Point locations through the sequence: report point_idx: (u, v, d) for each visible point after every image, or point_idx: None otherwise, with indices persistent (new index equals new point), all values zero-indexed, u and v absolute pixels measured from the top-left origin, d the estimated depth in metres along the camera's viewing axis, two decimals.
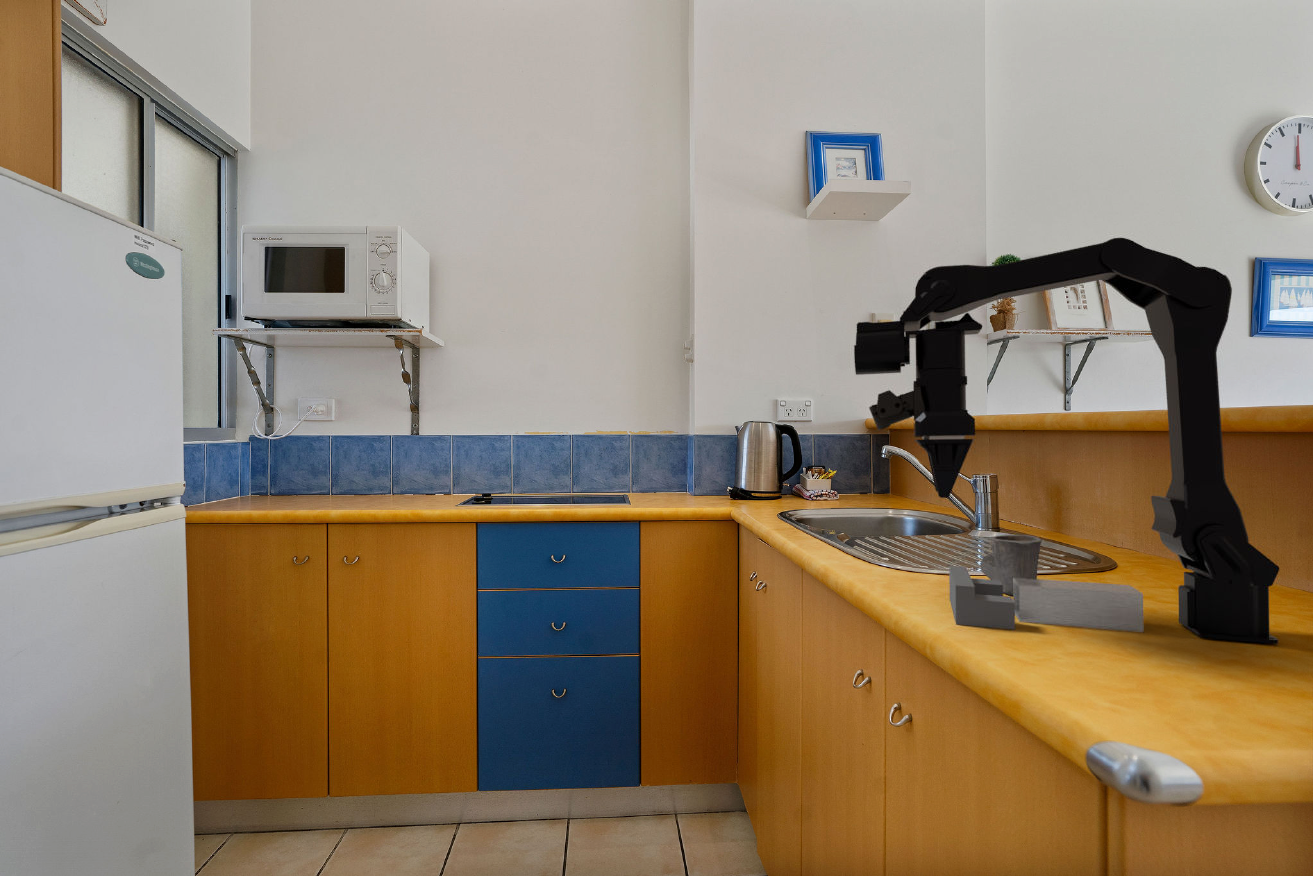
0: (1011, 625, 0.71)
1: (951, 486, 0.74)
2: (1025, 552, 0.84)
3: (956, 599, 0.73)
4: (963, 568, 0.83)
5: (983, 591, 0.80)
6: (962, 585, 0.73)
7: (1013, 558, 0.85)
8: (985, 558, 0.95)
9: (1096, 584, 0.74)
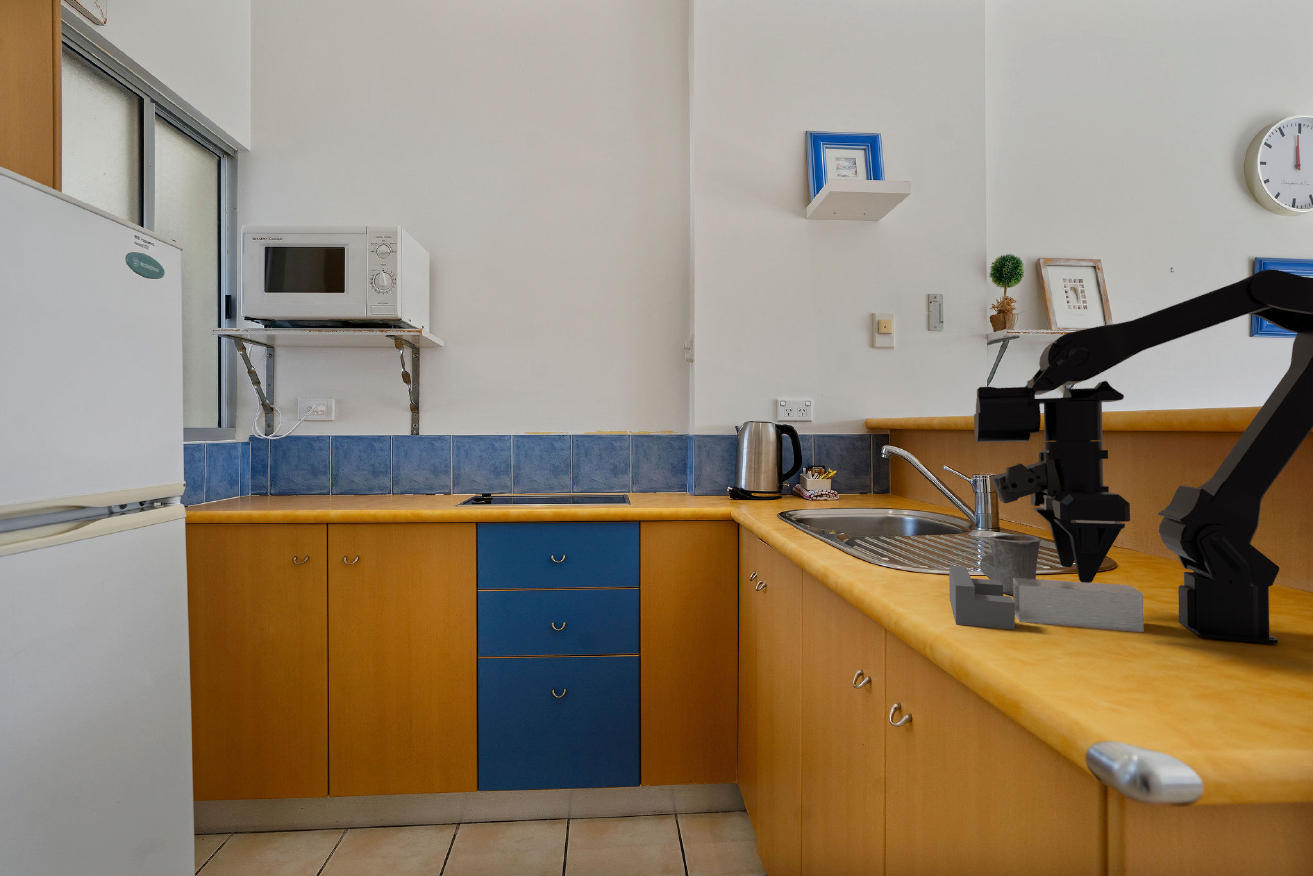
0: (1011, 625, 0.71)
1: (1095, 571, 0.69)
2: (1024, 551, 0.84)
3: (956, 599, 0.73)
4: (963, 568, 0.83)
5: (983, 591, 0.80)
6: (962, 585, 0.73)
7: (1012, 558, 0.85)
8: (984, 558, 0.95)
9: (1096, 584, 0.74)
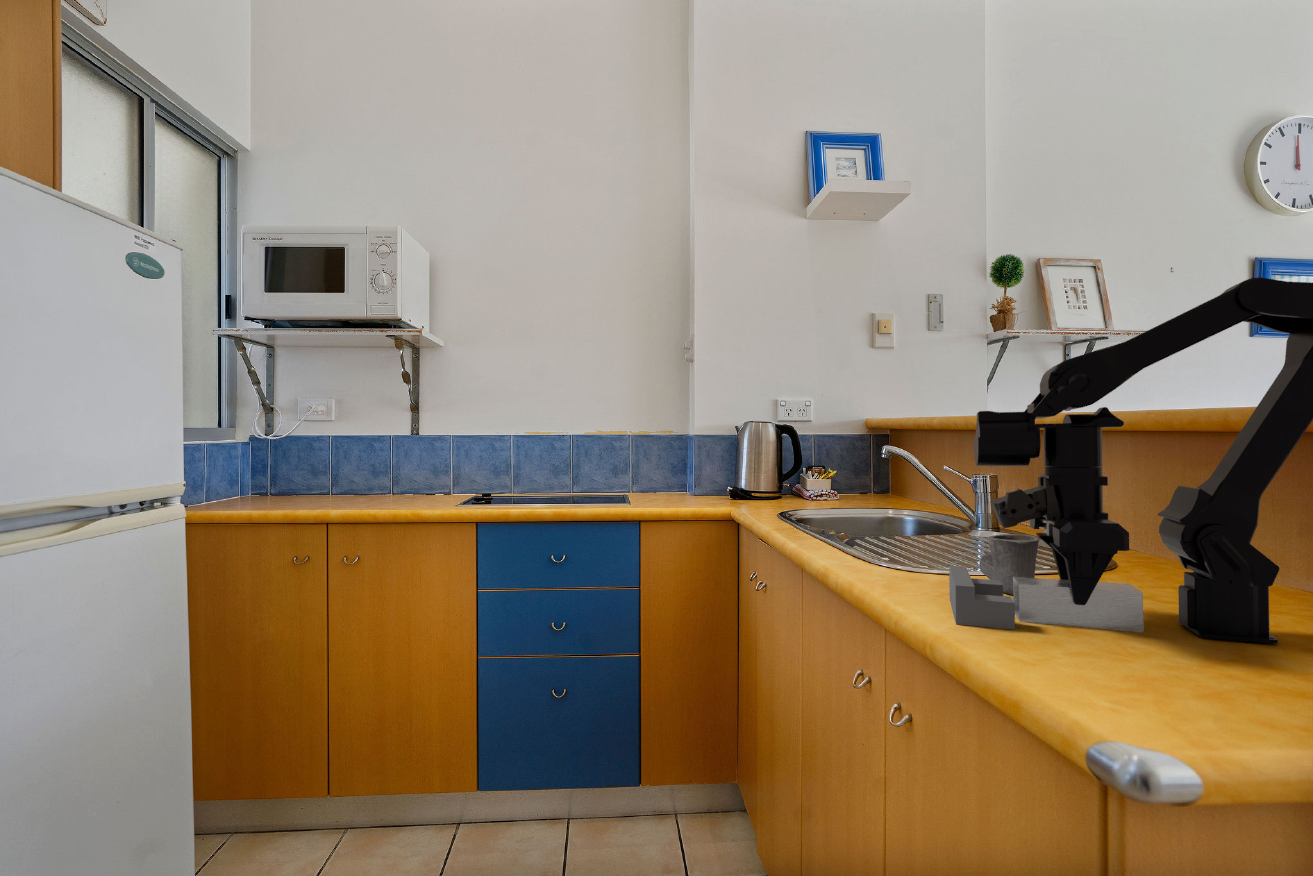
0: (1011, 625, 0.71)
1: (1089, 594, 0.71)
2: (1022, 551, 0.84)
3: (956, 599, 0.73)
4: (963, 568, 0.83)
5: (983, 591, 0.80)
6: (962, 585, 0.73)
7: (1011, 558, 0.86)
8: (984, 557, 0.96)
9: None
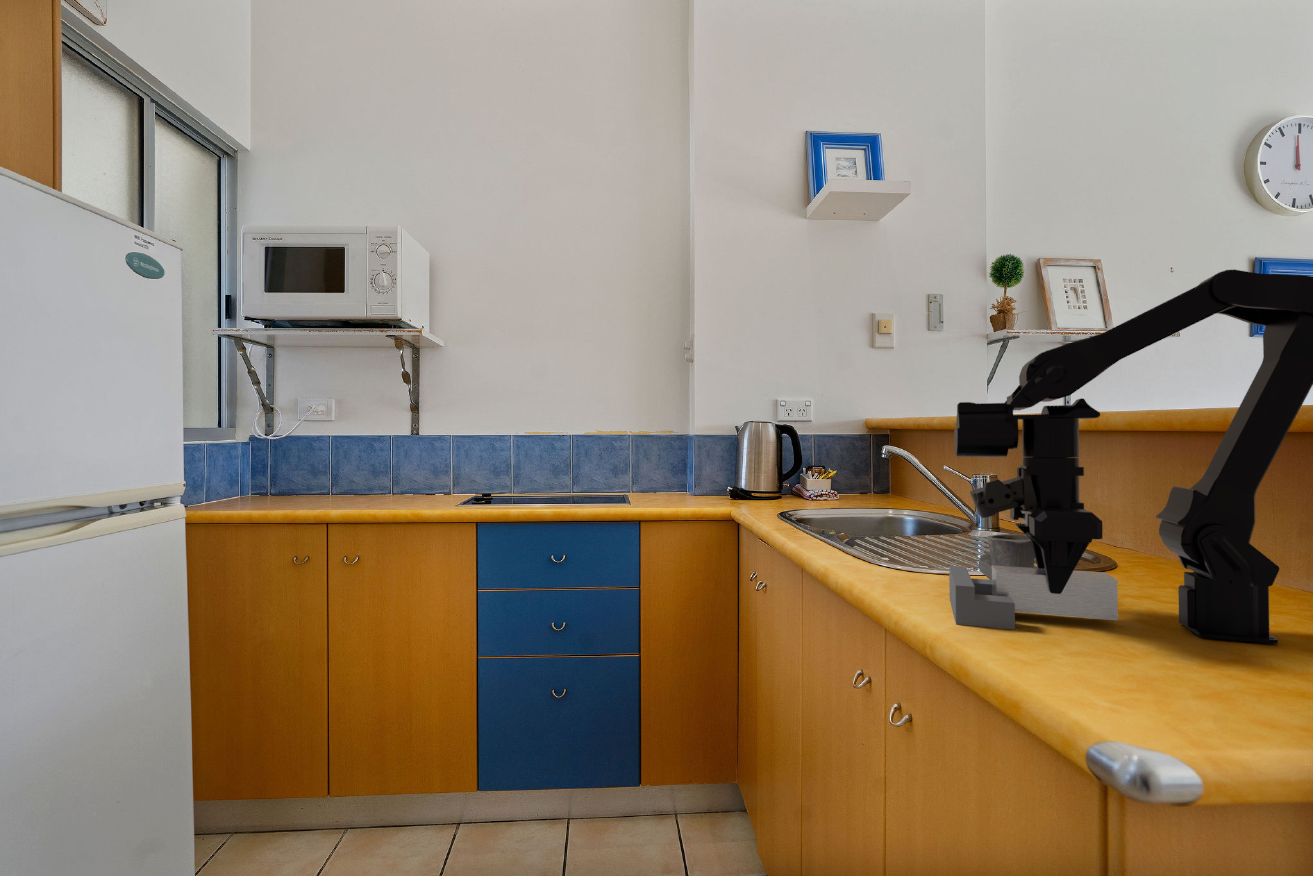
0: (1011, 625, 0.71)
1: (1064, 583, 0.72)
2: (1021, 550, 0.85)
3: (956, 599, 0.73)
4: (963, 568, 0.83)
5: (983, 591, 0.80)
6: (962, 585, 0.73)
7: (1009, 557, 0.86)
8: (983, 557, 0.96)
9: (1073, 571, 0.75)
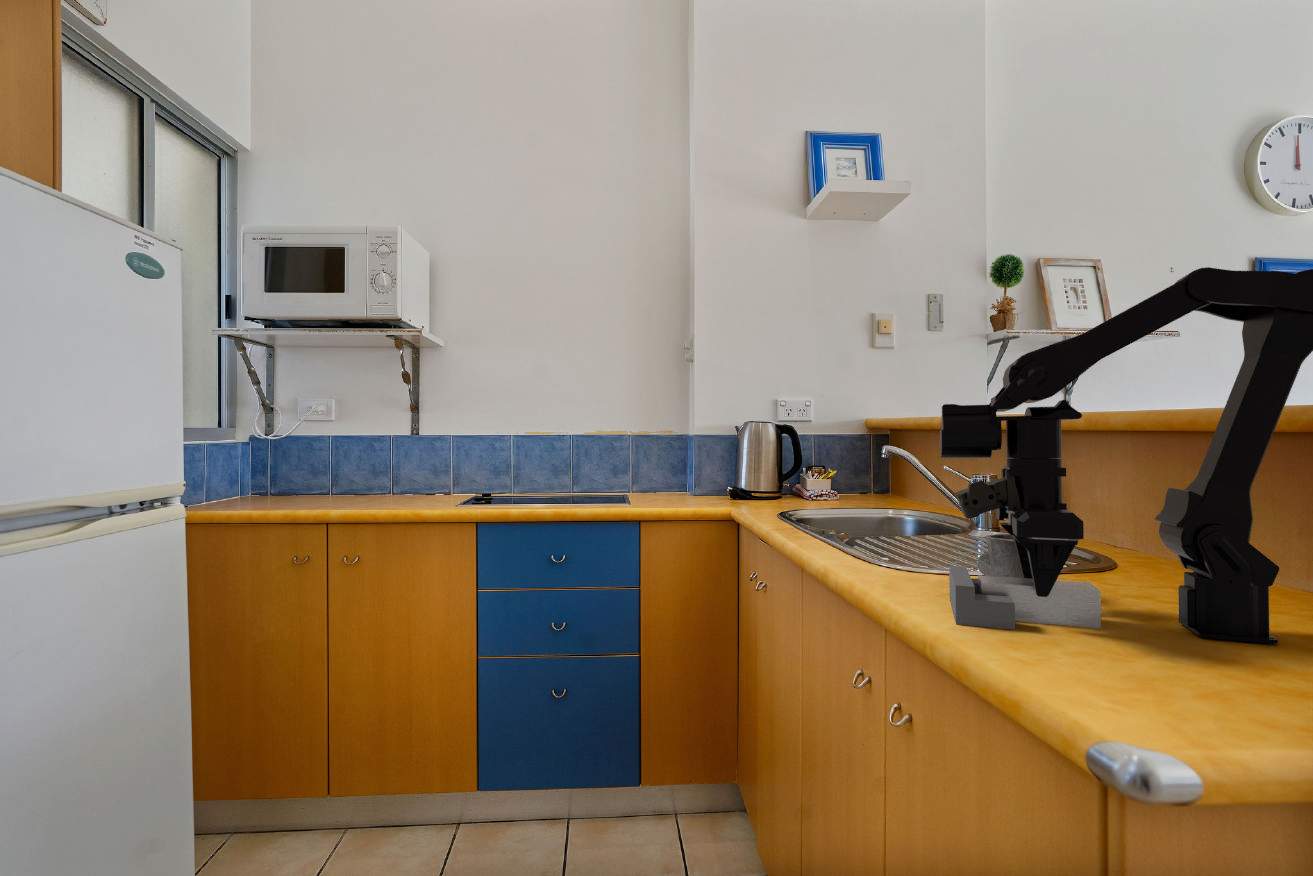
0: (1011, 625, 0.71)
1: (1051, 586, 0.71)
2: None
3: (956, 599, 0.73)
4: (963, 568, 0.83)
5: None
6: (962, 585, 0.73)
7: (1008, 557, 0.86)
8: (982, 556, 0.96)
9: (1057, 581, 0.76)
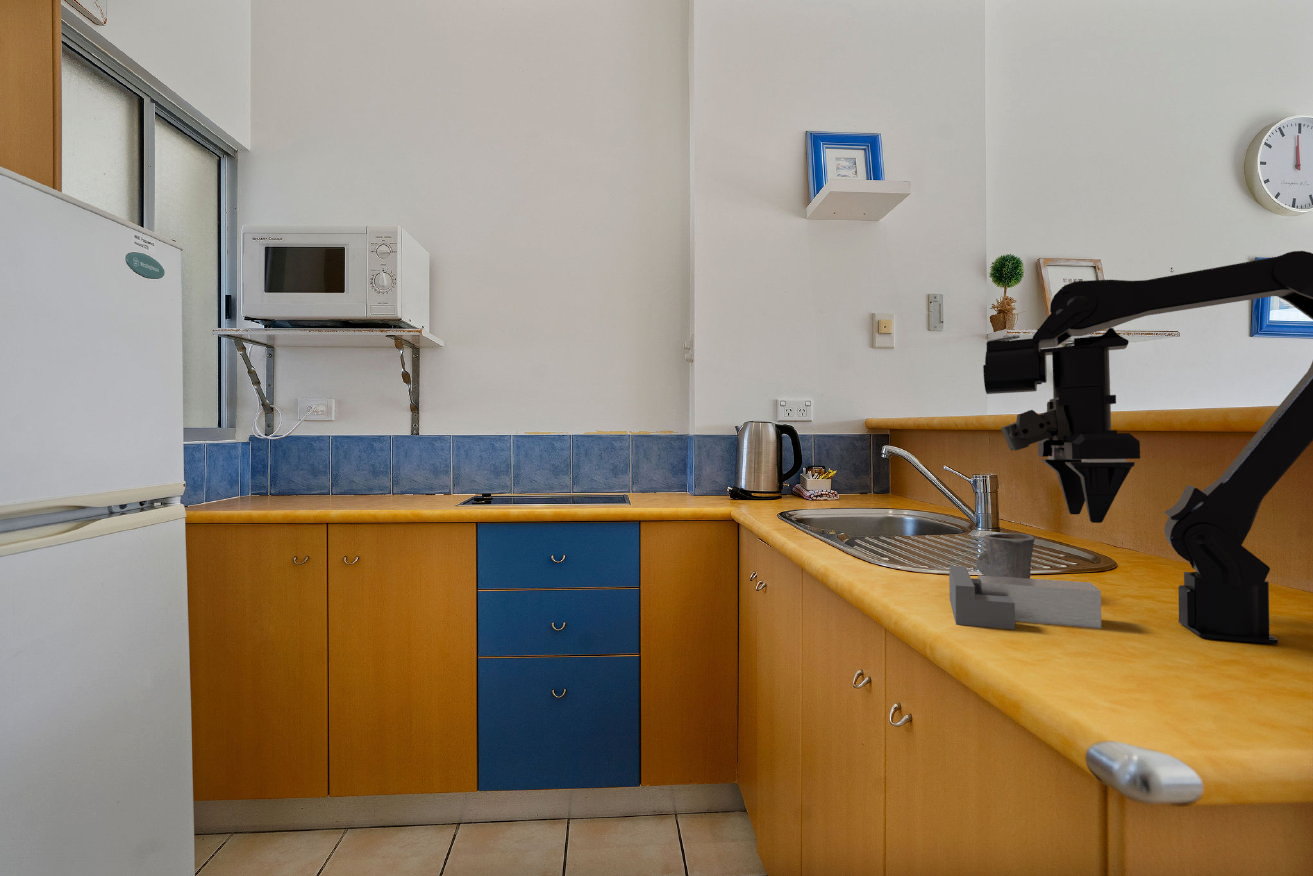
0: (1011, 625, 0.71)
1: (1105, 511, 0.71)
2: (1018, 549, 0.85)
3: (956, 599, 0.73)
4: (963, 568, 0.83)
5: None
6: (962, 585, 0.73)
7: (1006, 556, 0.87)
8: (981, 556, 0.97)
9: (1058, 581, 0.76)
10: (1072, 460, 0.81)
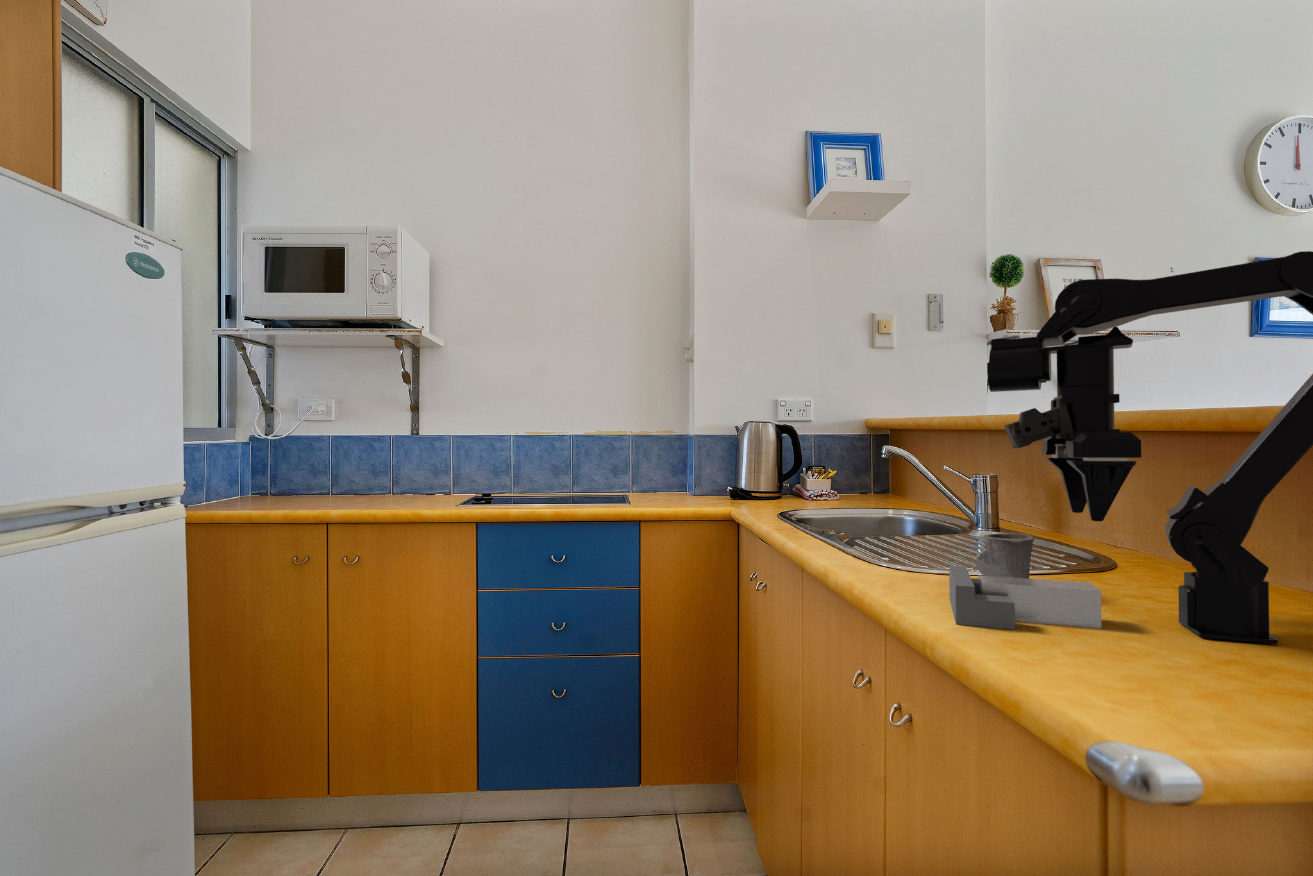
0: (1011, 625, 0.71)
1: (1106, 509, 0.71)
2: (1017, 549, 0.86)
3: (956, 599, 0.73)
4: (963, 568, 0.83)
5: None
6: (962, 585, 0.73)
7: (1005, 556, 0.87)
8: (980, 556, 0.97)
9: (1058, 581, 0.76)
10: (1076, 459, 0.81)
